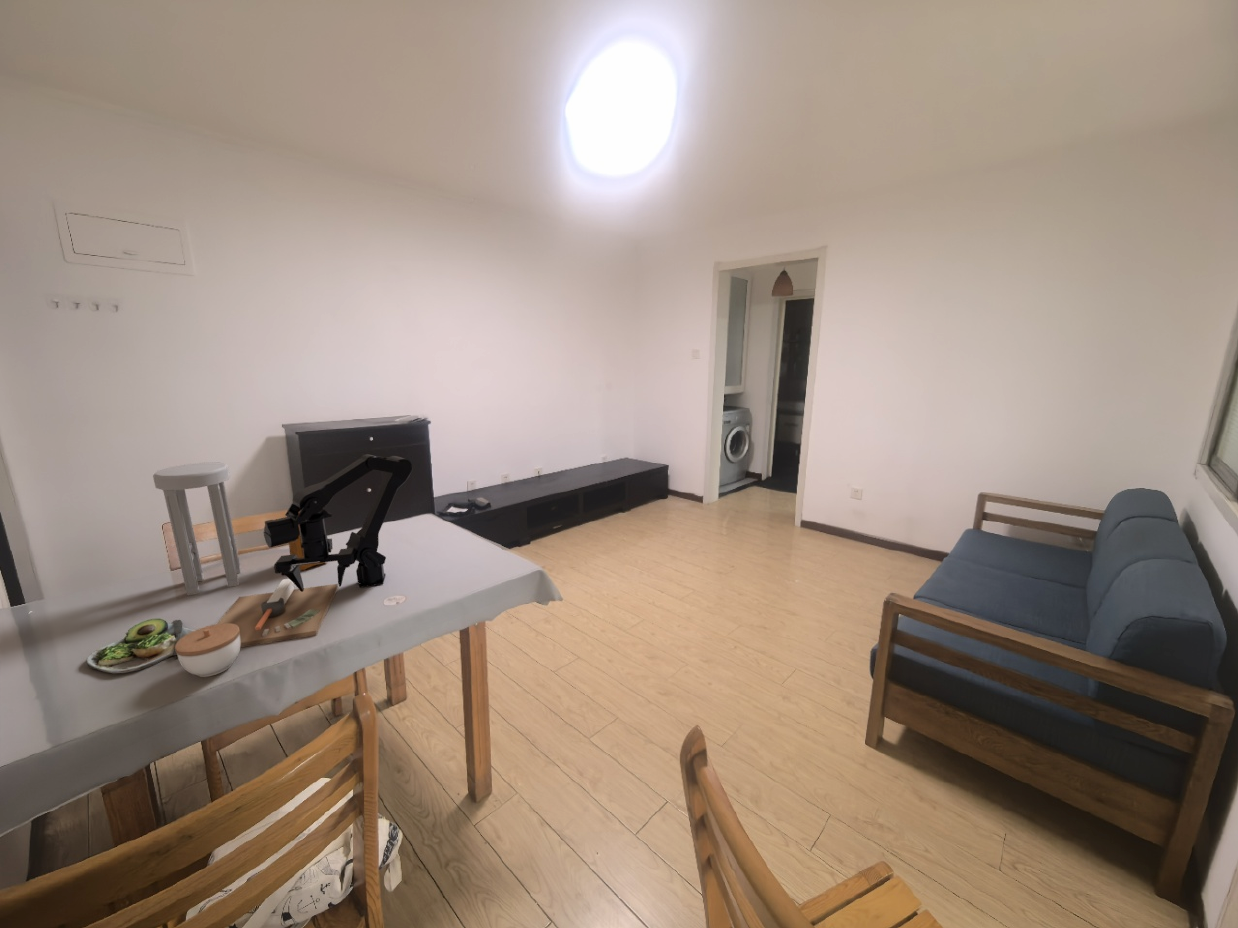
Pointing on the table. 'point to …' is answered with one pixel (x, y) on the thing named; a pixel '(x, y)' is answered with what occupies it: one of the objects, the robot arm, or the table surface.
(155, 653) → the salad plate
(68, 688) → the table surface
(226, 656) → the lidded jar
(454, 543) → the table surface
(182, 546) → the stool
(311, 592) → the cutting board
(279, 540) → the robot arm
